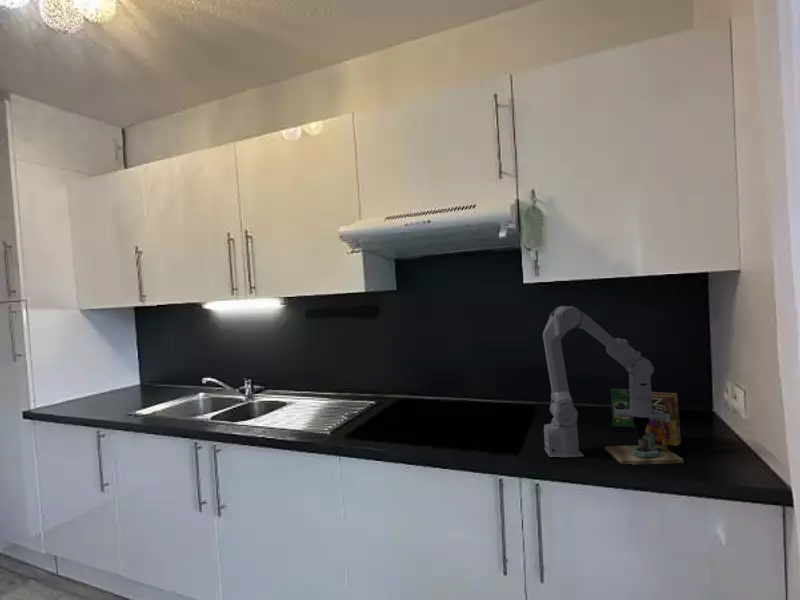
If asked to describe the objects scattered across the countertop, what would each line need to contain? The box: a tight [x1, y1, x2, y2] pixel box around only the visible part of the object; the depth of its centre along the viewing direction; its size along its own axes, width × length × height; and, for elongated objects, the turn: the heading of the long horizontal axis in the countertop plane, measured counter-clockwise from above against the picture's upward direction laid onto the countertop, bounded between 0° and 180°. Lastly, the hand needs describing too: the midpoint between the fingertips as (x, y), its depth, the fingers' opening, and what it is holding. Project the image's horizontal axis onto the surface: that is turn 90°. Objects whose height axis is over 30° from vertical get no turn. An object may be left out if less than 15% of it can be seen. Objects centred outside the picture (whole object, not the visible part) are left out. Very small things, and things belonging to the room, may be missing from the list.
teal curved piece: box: [630, 432, 659, 457], centre depth 132 cm, size 11×7×4 cm, turn 139°
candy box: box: [645, 391, 682, 447], centre depth 143 cm, size 9×4×15 cm, turn 47°
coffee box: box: [610, 388, 637, 429], centre depth 162 cm, size 8×3×13 cm, turn 63°
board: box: [604, 438, 684, 466], centre depth 132 cm, size 16×13×5 cm
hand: (643, 443), depth 136 cm, fingers closed, pressing on teal curved piece
